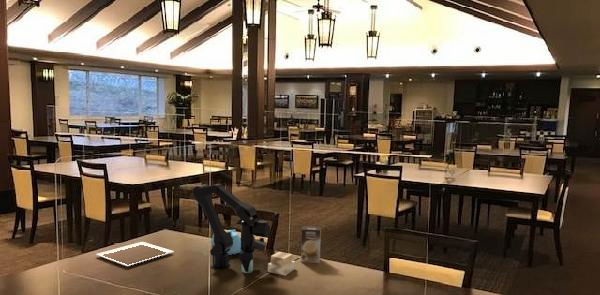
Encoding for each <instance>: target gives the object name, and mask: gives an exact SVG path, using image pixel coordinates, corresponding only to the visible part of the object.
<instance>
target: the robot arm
mask: <svg viewBox="0 0 600 295" xmlns="http://www.w3.org/2000/svg"><path fill="white" fill-rule="evenodd" d="M191 193H192V196H193V197H194V199H195V201H196V202H197V203H198V204H199V205H200V206H201V207H202V209H203V211H204V214H205V216H206V218H207V221H208V224H209V225H210V228H211V231H212V233H213V234H214V245H215V246H214V245H213V247H212V248H211V249H210V250H209V252H210V255H211V256H212V265H210V267H211V268H214V269H220V270H224V269H225V268H227V267H229V266H231V264H230V262H229V259H230V258H229V255H228V253H227V252H228V251H230V248H231V247H232V246H233V238H232V236H231V233H230V232H228V233H227V230H225V229H224V227H223V225H222V223H221V220H220V217H219V215H218V213H217V211H216V207H215V205H214V203H213V194H215V195H216V196H217V197H218V198H220V199H221V200H222V201H223V202H224V203H226V204H227V205H228V206H229V207H230V208H232V209H233V210H234V212H235V215H236V216H237V217H238V218H239V220H238V221H237V222H236V223H235V224H236V225H240V241H241V247H240V250H241V252H240V253H238V260H239V261H240V263H241V266H242V265H243V267H244V269H245V271H246V272H248V269H249V264H250V261H251V260H253V261H254V258H255V256H254V255H255V254H254V252H255V251H256V250H258V251H259V252H261V253H264V252H265V250H266V247H267V241H265V239H267V238H269V237H270V235H271V232H272V229H271V228H272V227H271V225H270V223H269V221H262V219H261V218H260V216H259V215H258V212H257V211H256V208H255V207H254V206H253V205H251V204H249V203H247V202H244V201H242V200H240V199H239V198H238V197H237V196H235V195H234V194H233V193H231V192H230V190H228V189H227V188H226V187H224V185H222V183H216V184H211V185H209V184H200V185H196V186H195V187H193V189H192V192H191ZM255 237H259V238H258V239H257V238H255ZM255 249H256V250H255Z"/></svg>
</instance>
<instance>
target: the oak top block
mask: <svg viewBox="0 0 600 295" xmlns="http://www.w3.org/2000/svg"><path fill="white" fill-rule="evenodd" d="M292 261H293V254H292V253H287V252H283V251H278V252H276V253H273V254H272V255H270V262H271V264H275V265H279V266H286V265H288V264H289V263H291V262H292Z"/></svg>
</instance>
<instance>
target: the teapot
mask: <svg viewBox="0 0 600 295" xmlns="http://www.w3.org/2000/svg"><path fill="white" fill-rule="evenodd" d="M226 232H227V233H228V232H230V233H231V236H232V238H233V246H232V247H231V248H230V251H228V252H227V253H228V256H233V255H237V253H238V254H239V253H240V252H241V250H240V247H241V241H240V238H241V235H239V233H237V232H236V229H228V230H227V229H226ZM210 243H211V244H212V245H213V247H214V246H215V245H214V233H213V234H212V236H211V240H210ZM232 254H233V255H232Z"/></svg>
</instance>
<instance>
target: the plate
mask: <svg viewBox="0 0 600 295" xmlns="http://www.w3.org/2000/svg"><path fill="white" fill-rule="evenodd" d="M139 245H144V246H148V247H151V248H155V249H158V250H160V251H163V252H166V253H165V254H162V255H158V256H155V257H152V258H149V259H145V260H142V261H139V262H136V263H132V264H129V265H127V264H125V263H122V262H119V261H116V260H114V259H111V258H108V257H105V256H103V255H104V254H109V253H114V252H117V251H120V250H125V249H128V248H132V247H136V246H139ZM174 252H175V251H174V250H172V249H168V248H165V247H162V246H158V245H154V244H151V243H149V242H145V241H139V242H135V243H131V244H128V245H124V246H121V247H117V248H114V249H109V250H106V251H101V252H97V253H96V254H95V255H96V256H98V257H101V258H104V259H107V260H109V261H111V262H114V263H117V264H119V265H122V266H125V267H132V266H135V265H134V264H136V265H138V264H137V263H139V264H142V263H145V262H148V261H150V260H151V259H152V260H154V258H155V259H158V258H160V256H161V257H164V256H167V255H170V254H172V253H174ZM157 257H158V258H157ZM147 260H148V261H147ZM144 261H145V262H144ZM141 262H142V263H141ZM131 265H132V266H131Z"/></svg>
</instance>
